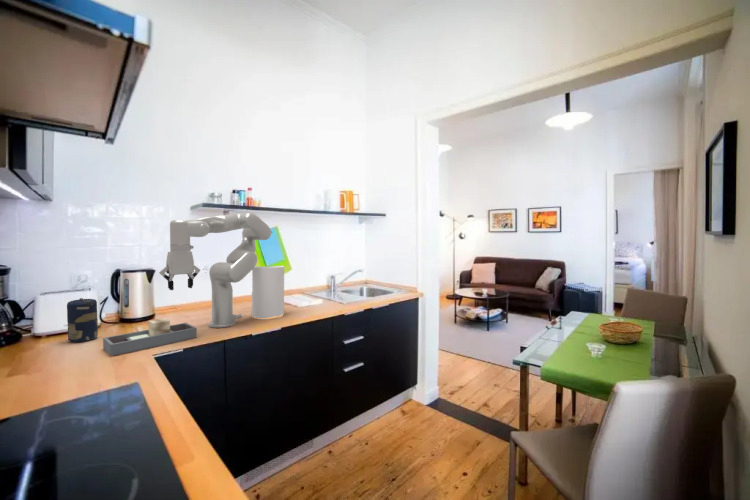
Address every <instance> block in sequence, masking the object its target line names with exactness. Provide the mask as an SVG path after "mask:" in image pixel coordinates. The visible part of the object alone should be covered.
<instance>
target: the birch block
mask: <svg viewBox="0 0 750 500" xmlns="http://www.w3.org/2000/svg"><path fill="white" fill-rule="evenodd" d="M170 326H171V320H169V319H167V318H166V317H164V318H159V319H152V320H148V330H149V335H150V336H154V335H159V334H165V333H170Z"/></svg>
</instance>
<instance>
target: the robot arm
mask: <svg viewBox="0 0 750 500" xmlns="http://www.w3.org/2000/svg"><path fill="white" fill-rule="evenodd" d="M237 230H242V232H241V235H242V236H241V238H242V241H241V243H240V244H239V245H238V246H237V247H236V248H234V250H232V251H231V252H230V253H228V255H227V257H226V259H225V262H222V261H220V262H219V261H218V262H216V263H213V264H212V265H211V266H210V269H209V279H210V283H211V284H210V285H211V321H210V322H209V323H208V327H209V328H213V329H223V328H229V327H232V325H233V326H234V325H236V324H237V320H239V319H242V318H243V315H242V314H241V313H240V314H234V310H233V309H234V307H233V302H234V299H233V296H234V295H233V292H234V291H233V285H232V284H233V283H239V282H241V281H242V280H244V278H245V277H246V276H248V274H250V273H251V271H252V269H253V268H254V267H257V266H256V265H257V263H258V256H257V255H258V254H256V250H257V249H256V247H257V246H256V241H266V240H269V239H270V238H271V236H272V230H271V228H270V226H269V225H268V224H267V223H266V222H265V221H263V219H261V218H260V217H259V216H258V215H256V214H255V213H253V212H233V213H229V214H221V215H215V216H214V215H213V216H210V217H209V216H208V217H200V218H194V219H188V220H183V219H182V220H181V219H179V220H178V219H177V220H170V223H169V243H170V244H169V245H170V248H169V249H170V250H169V251H168V252H167V253H166V261H165V262H166V263H165V267H164V268H163V269H161V270H160V271H159V275H160V276H162V277H163V279H165V280H167V288H168V290H169V291H173V290H175V289H174V284H175V282H174V281H173V279H174V277H175V276H176V275H187V277H188V278H187V288H189V289H193V287H194V279H195V278H196V277H197V275H198V274H199V273H200V272H201V269H200V268H199V267H197V266H196V265H195V260H194V256H193V251H191V250H192V249H194V245H192V244H191V238H203V237H206V236H207V235H208V234H219V233H220V234H221V233H227V232H228V233H229V232H231V231H237ZM167 274H168V275H167Z"/></svg>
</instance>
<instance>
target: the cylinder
mask: <svg viewBox="0 0 750 500" xmlns="http://www.w3.org/2000/svg"><path fill="white" fill-rule="evenodd" d="M251 271H252V272H251V273H252V278H251V279H252V282H251V283H252V285H251V286H252V287H251V288H252V291H251V317H252V316H253V317H256V318H267V317H273V316H279V315H282V314H284V315H285V265H271V266H269V265H268V266H266V265H265V266H255V267H254V268H253V269H252V270H251ZM253 317H252V318H253Z"/></svg>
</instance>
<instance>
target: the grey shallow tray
mask: <svg viewBox="0 0 750 500" xmlns="http://www.w3.org/2000/svg"><path fill="white" fill-rule="evenodd" d="M197 330H198V329H197V327H196V326H194V325H192V324H189V323H188V322H183V323H176V324H172V325H171V324H170V333H165V334H159V335H154V336H150V335H149V329H145V330H139V331H134V332H128V333H122V334H117V335H116V334H115V335H112V336H107V337H102V340H103V341H102V344H103V347H102V349H103V350H104V352H105V353H107V354H108V356H110V357H111V358H113V357H115V356H120V355H121V354H122V355H125V354H129V353H130V354H131V353H134V352H139V351H143V350H147V349H153V348H157V347H161V346H167V345H171V344H175V343H179V342H183V341H184V342H185V341H188V340H193V339H197V338H198V337H197V336H198V334H197V332H198V331H197ZM112 356H113V357H112Z"/></svg>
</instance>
